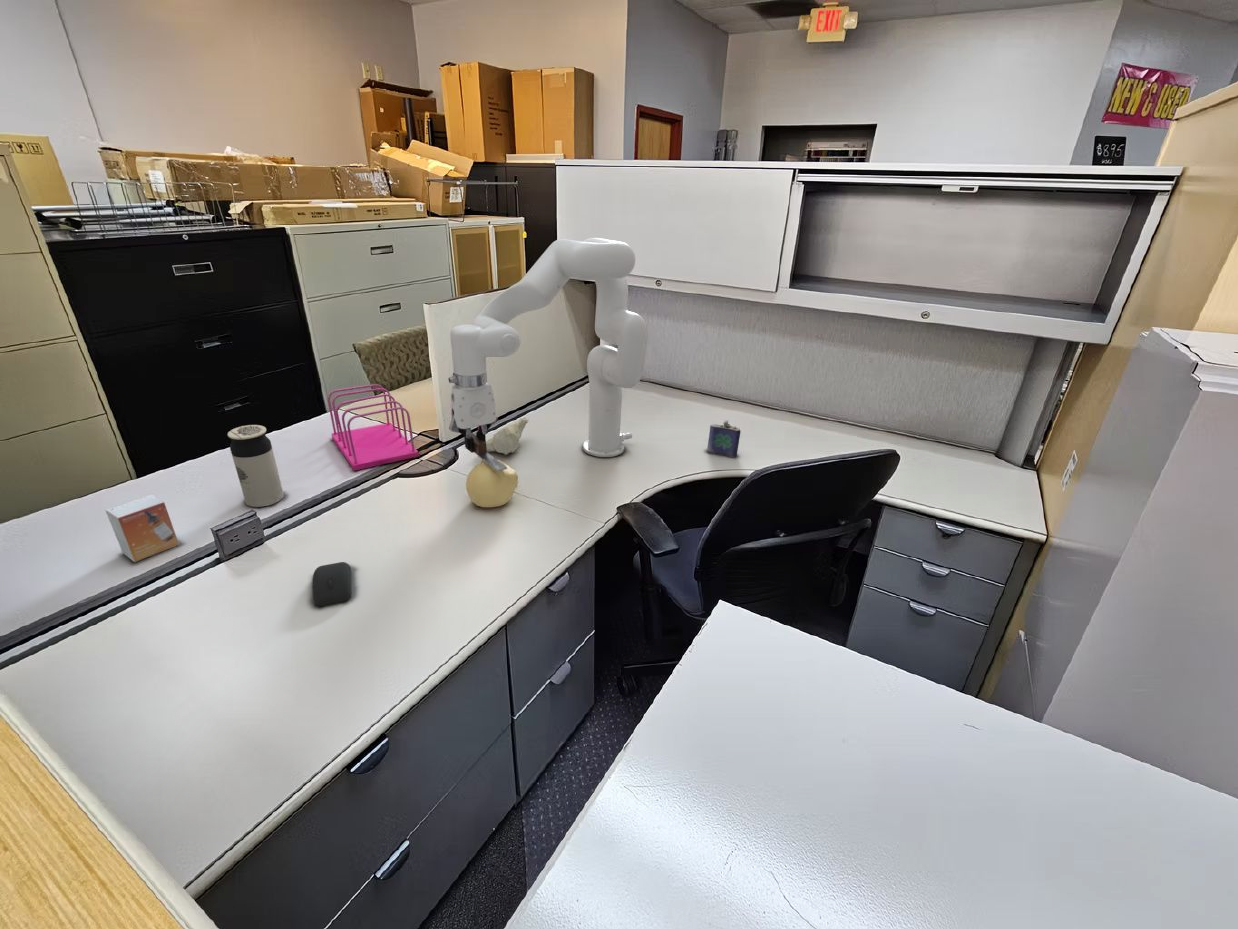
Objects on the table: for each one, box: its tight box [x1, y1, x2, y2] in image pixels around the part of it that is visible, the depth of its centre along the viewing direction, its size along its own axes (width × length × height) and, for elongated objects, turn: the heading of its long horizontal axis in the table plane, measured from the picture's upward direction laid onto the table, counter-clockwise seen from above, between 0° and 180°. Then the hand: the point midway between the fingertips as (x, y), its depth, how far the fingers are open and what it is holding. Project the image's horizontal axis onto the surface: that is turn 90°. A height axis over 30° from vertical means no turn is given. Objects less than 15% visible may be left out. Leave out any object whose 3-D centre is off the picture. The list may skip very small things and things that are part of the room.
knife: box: [471, 432, 507, 472], centre depth 136 cm, size 18×3×3 cm, turn 38°
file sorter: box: [327, 383, 419, 471], centre depth 160 cm, size 17×25×16 cm
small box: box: [105, 493, 180, 563], centre depth 113 cm, size 8×6×10 cm
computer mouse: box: [312, 561, 352, 607], centre depth 107 cm, size 6×11×4 cm, turn 24°
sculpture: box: [465, 459, 519, 508], centre depth 137 cm, size 11×12×11 cm
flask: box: [706, 420, 741, 458], centre depth 169 cm, size 9×3×11 cm, turn 71°
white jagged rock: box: [486, 416, 529, 456], centre depth 165 cm, size 15×7×15 cm
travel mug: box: [227, 424, 285, 508], centre depth 131 cm, size 8×8×18 cm
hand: (475, 448), depth 140 cm, fingers closed on knife, 2 cm apart
